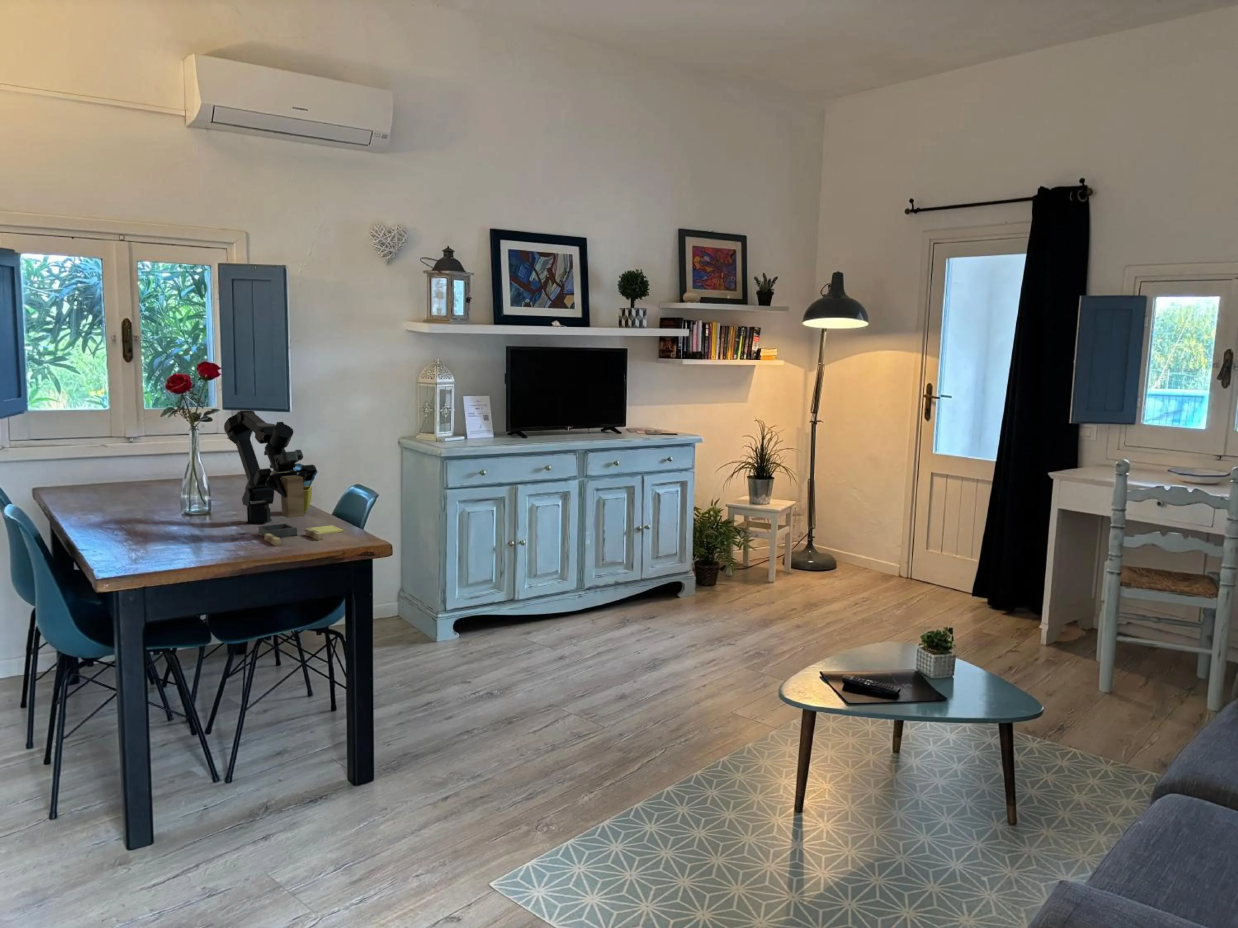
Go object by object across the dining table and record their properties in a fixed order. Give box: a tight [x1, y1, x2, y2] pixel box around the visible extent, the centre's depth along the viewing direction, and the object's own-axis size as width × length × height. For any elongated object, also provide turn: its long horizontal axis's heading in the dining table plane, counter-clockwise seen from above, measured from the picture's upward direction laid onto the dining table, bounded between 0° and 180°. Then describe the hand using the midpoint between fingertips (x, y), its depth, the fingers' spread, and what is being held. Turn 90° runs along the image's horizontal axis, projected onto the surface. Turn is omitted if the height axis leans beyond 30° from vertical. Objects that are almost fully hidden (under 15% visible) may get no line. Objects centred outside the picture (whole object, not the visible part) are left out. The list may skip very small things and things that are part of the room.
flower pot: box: [303, 485, 313, 514], centre depth 321 cm, size 9×9×9 cm
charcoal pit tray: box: [257, 522, 298, 538], centre depth 286 cm, size 9×9×2 cm
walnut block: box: [280, 475, 305, 519], centre depth 284 cm, size 5×5×12 cm
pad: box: [304, 524, 344, 535], centre depth 293 cm, size 9×9×1 cm
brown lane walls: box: [263, 527, 324, 547], centre depth 279 cm, size 10×14×2 cm
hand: (294, 496), depth 283 cm, fingers closed on walnut block, 5 cm apart
